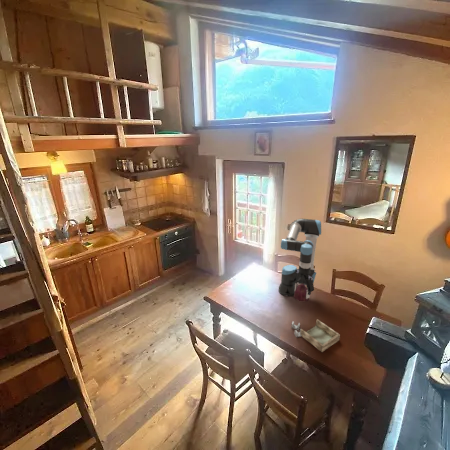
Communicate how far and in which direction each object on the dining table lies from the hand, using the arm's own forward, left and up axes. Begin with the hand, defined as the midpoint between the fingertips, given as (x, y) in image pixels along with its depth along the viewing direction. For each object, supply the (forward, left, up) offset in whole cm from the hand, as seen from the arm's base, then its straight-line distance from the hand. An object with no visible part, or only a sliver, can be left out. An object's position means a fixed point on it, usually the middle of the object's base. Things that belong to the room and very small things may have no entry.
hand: (301, 294), depth 176 cm
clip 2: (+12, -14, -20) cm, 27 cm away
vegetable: (0, 0, -3) cm, 3 cm away
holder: (+21, -5, -20) cm, 29 cm away
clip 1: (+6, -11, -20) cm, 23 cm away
